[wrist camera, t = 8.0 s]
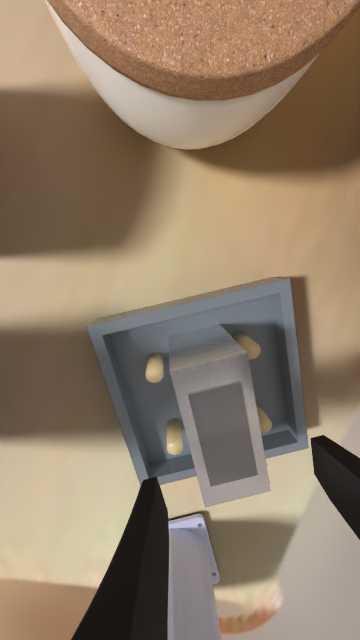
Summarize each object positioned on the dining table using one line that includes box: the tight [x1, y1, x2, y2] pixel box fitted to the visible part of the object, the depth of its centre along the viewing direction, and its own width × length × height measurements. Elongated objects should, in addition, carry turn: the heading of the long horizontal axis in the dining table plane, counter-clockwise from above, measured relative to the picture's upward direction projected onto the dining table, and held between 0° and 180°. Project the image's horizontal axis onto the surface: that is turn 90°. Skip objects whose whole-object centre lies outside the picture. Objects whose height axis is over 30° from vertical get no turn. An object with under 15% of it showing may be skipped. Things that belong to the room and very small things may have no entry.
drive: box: [168, 324, 271, 507], centre depth 15 cm, size 9×4×6 cm, turn 13°
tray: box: [87, 277, 309, 485], centre depth 17 cm, size 14×14×4 cm
